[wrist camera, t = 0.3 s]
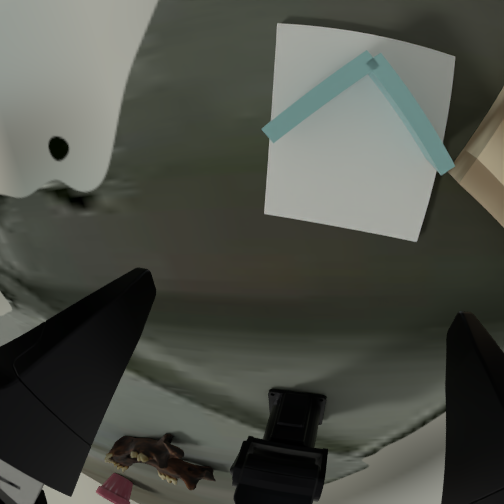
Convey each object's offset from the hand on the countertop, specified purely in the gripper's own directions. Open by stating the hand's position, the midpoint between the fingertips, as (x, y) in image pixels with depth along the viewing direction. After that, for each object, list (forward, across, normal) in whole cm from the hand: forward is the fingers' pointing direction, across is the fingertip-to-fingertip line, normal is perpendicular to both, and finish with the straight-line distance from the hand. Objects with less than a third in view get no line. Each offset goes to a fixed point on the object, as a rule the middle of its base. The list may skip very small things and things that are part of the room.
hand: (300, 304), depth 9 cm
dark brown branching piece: (+9, +27, +58) cm, 65 cm away
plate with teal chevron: (+14, -2, -1) cm, 14 cm away
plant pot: (+3, +61, +124) cm, 139 cm away
